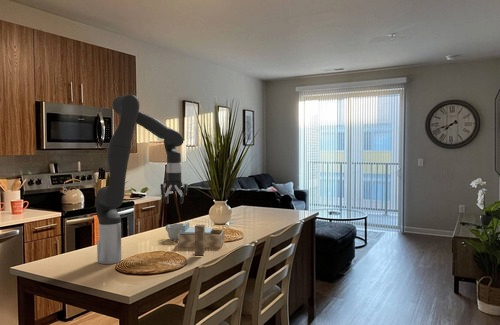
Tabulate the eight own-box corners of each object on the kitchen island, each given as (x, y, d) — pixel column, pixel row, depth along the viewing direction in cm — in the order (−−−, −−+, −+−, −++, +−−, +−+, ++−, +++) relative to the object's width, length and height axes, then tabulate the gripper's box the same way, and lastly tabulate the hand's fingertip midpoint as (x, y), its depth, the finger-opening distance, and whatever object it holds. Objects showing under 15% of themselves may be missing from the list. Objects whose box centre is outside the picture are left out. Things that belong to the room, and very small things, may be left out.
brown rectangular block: (194, 255, 174) (194, 226, 174) (196, 253, 178) (196, 224, 178) (203, 256, 174) (203, 226, 174) (204, 253, 178) (204, 224, 178)
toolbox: (178, 248, 187) (177, 234, 187) (183, 242, 200) (183, 229, 200) (221, 249, 186) (221, 235, 186) (224, 242, 199) (224, 229, 199)
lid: (179, 234, 187) (179, 226, 187) (185, 228, 200) (185, 221, 200) (209, 234, 187) (209, 226, 186) (213, 229, 199) (213, 221, 199)
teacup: (191, 239, 206) (191, 225, 206) (175, 243, 198) (175, 228, 198) (176, 235, 216) (176, 221, 216) (160, 238, 208) (160, 224, 208)
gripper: (189, 171, 196) (189, 202, 197) (162, 171, 197) (162, 202, 197) (186, 172, 189) (186, 204, 189) (158, 172, 189) (158, 204, 190)
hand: (174, 203), depth 193 cm, fingers open, 6 cm apart
